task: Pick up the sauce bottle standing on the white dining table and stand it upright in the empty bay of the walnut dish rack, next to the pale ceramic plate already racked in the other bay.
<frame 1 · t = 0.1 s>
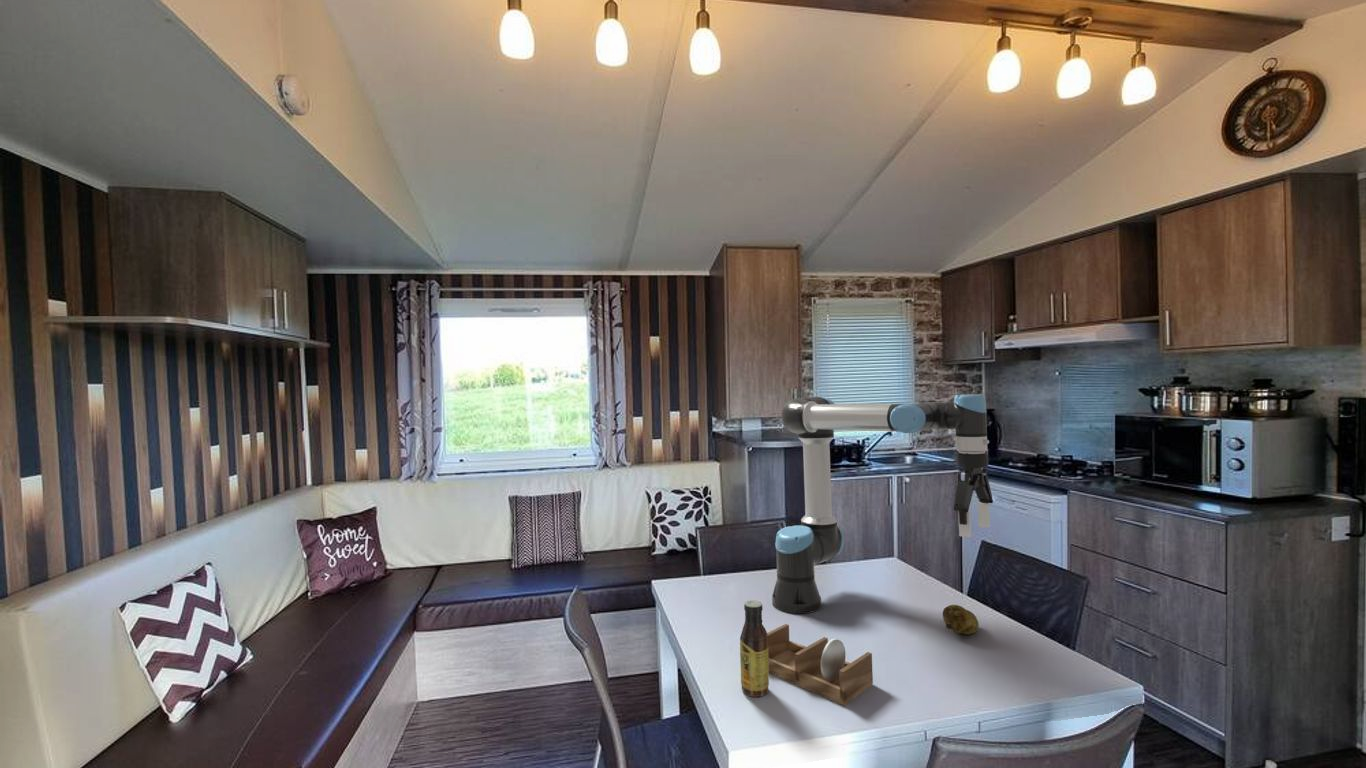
hand: (975, 531, 150), 28 cm above the table, fingers open, 13 cm apart
sauce bottle: (755, 692, 126), on the table
dish rack: (812, 675, 132), on the table
potato: (962, 633, 152), on the table
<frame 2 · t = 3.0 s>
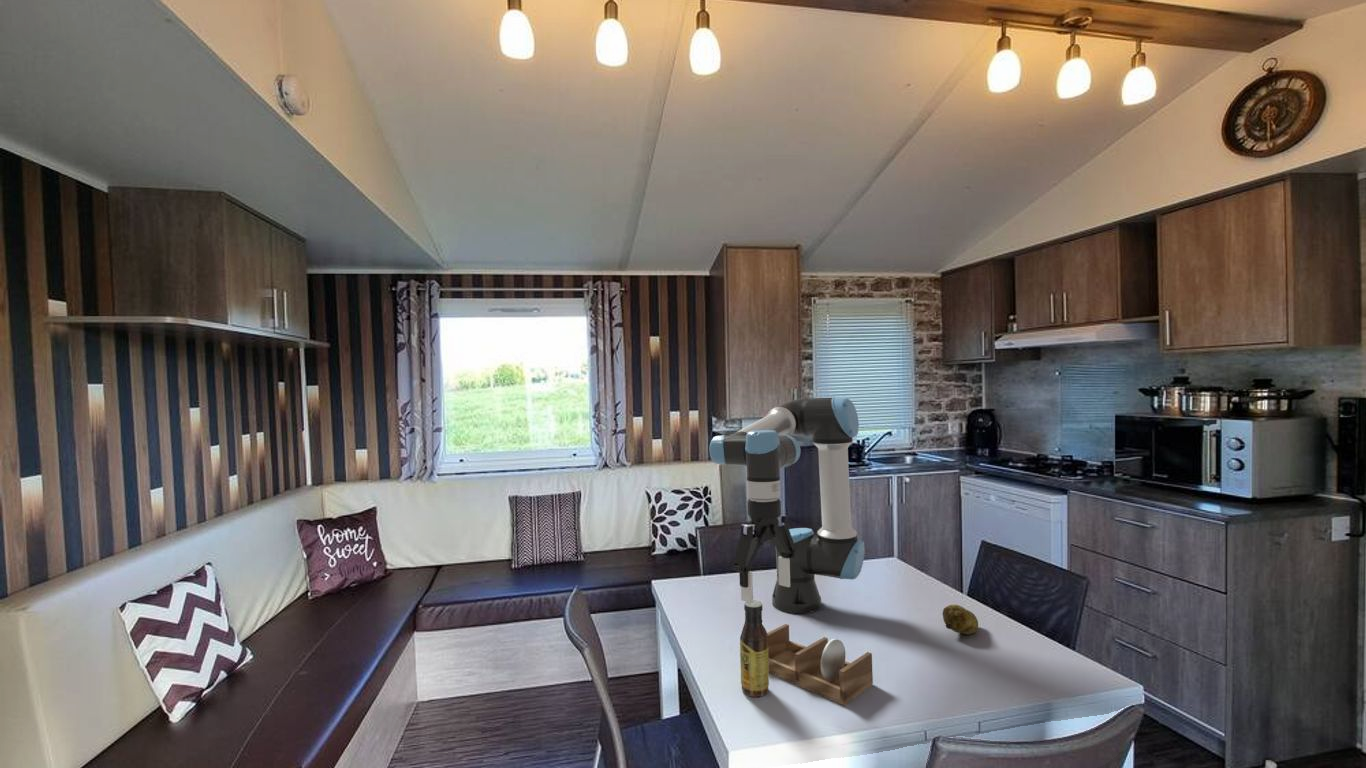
hand: (766, 593, 127), 22 cm above the table, fingers open, 13 cm apart
nothing on the table moved.
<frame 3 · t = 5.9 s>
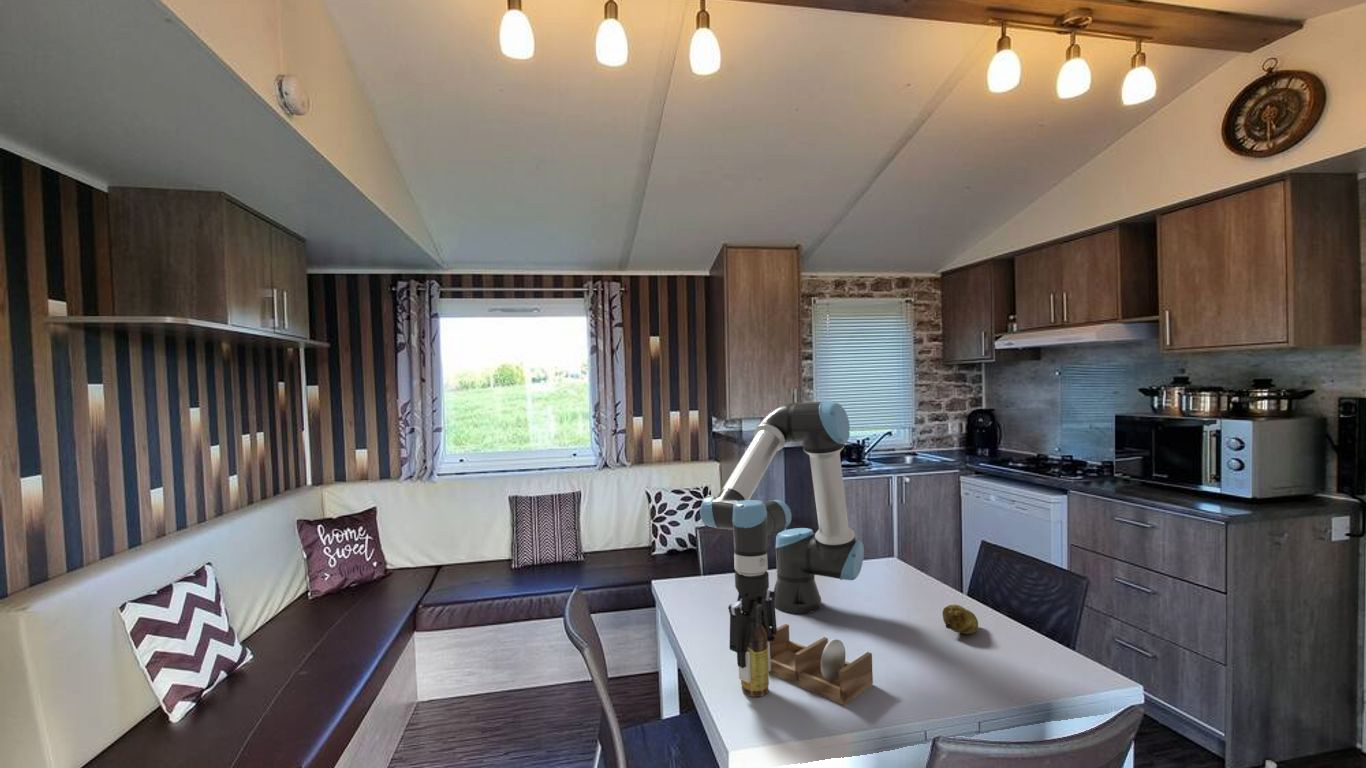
hand: (755, 674, 126), 4 cm above the table, fingers closed on sauce bottle, 6 cm apart
sauce bottle: (755, 692, 126), on the table, touching gripper
everything else where it was.
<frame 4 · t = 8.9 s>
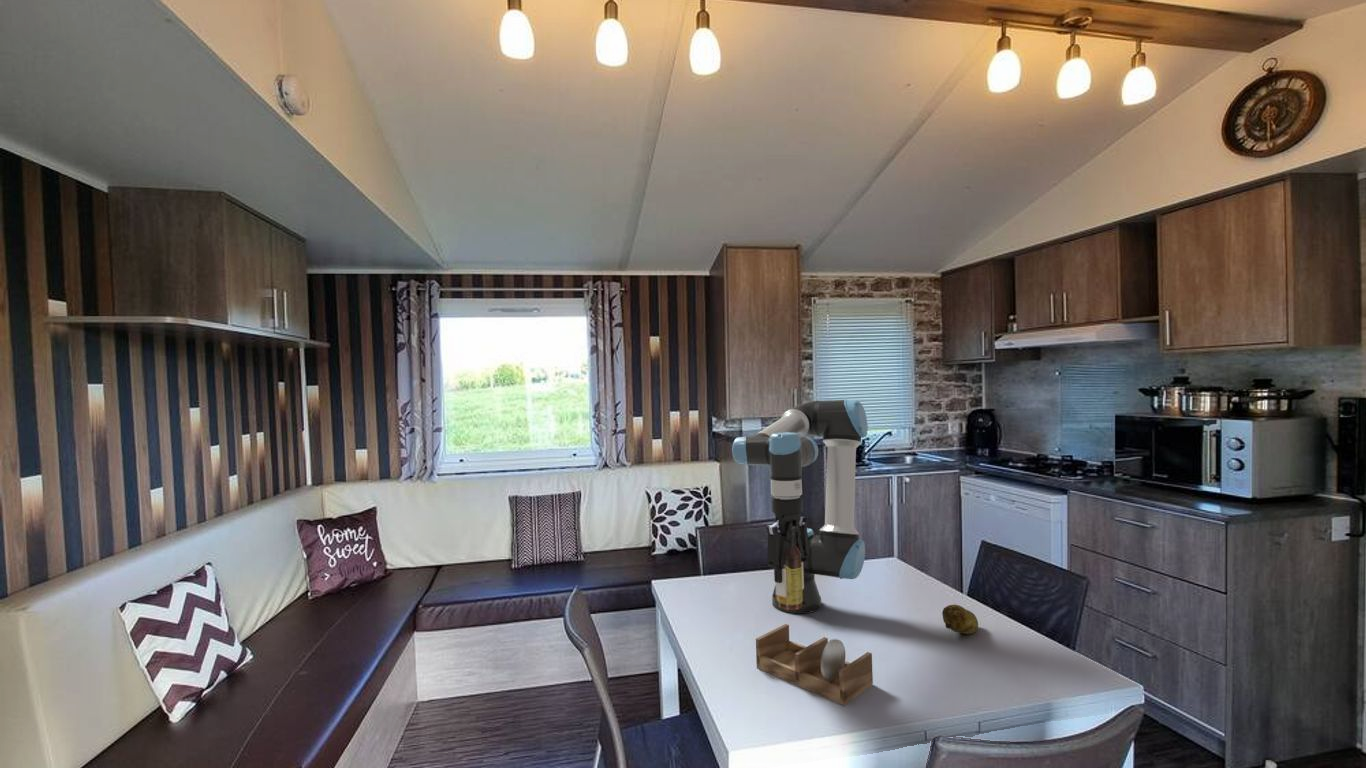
hand: (790, 591, 137), 18 cm above the table, fingers closed on sauce bottle, 6 cm apart
sauce bottle: (790, 607, 137), point 14 cm above the table, touching gripper
everything else where it was.
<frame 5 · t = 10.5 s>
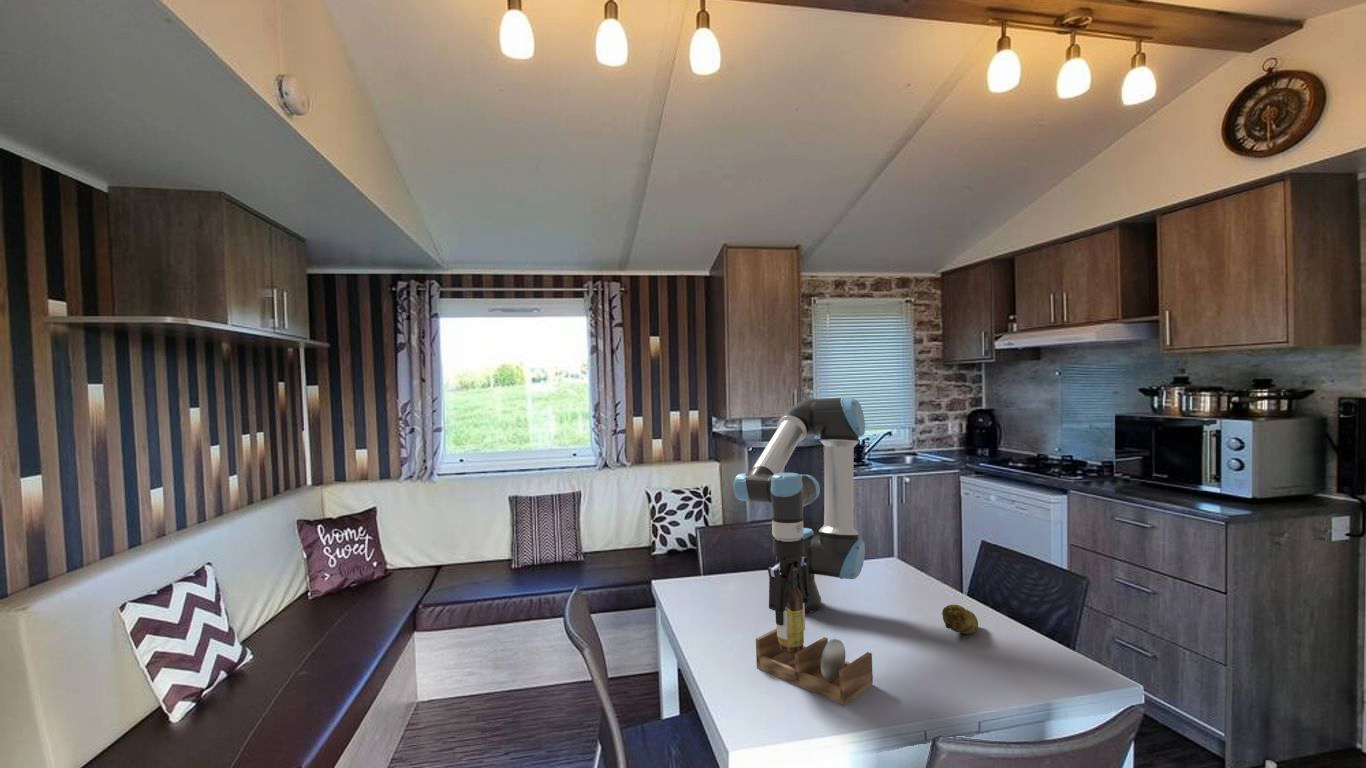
hand: (791, 632, 136), 8 cm above the table, fingers closed on sauce bottle, 6 cm apart
sauce bottle: (791, 649, 137), point 4 cm above the table, touching gripper
everything else where it was.
when the fingers open (6 cm above the table, at t = 11.7 s): sauce bottle drops 1 cm, resting on dish rack.
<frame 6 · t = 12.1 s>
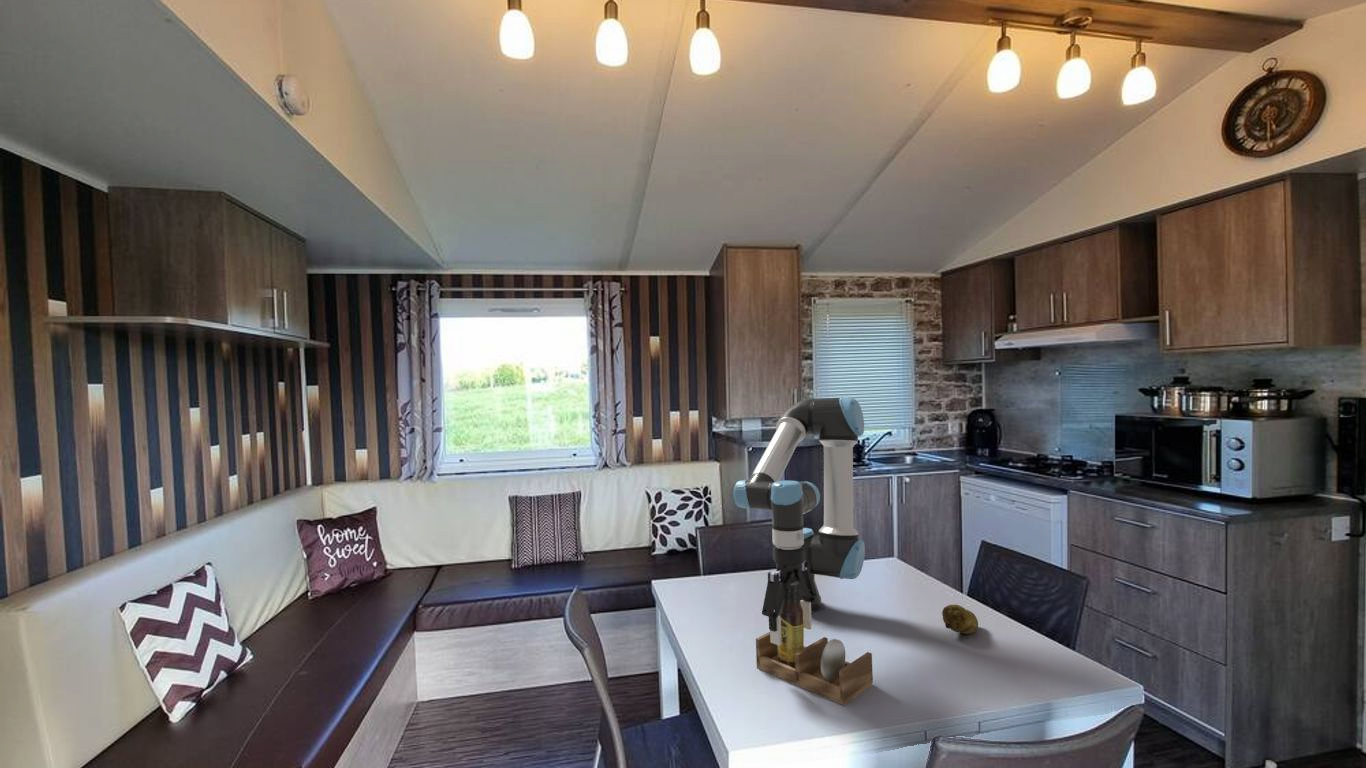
hand: (791, 635, 137), 8 cm above the table, fingers open, 11 cm apart
sauce bottle: (791, 664, 136), point 1 cm above the table, touching dish rack
everything else where it was.
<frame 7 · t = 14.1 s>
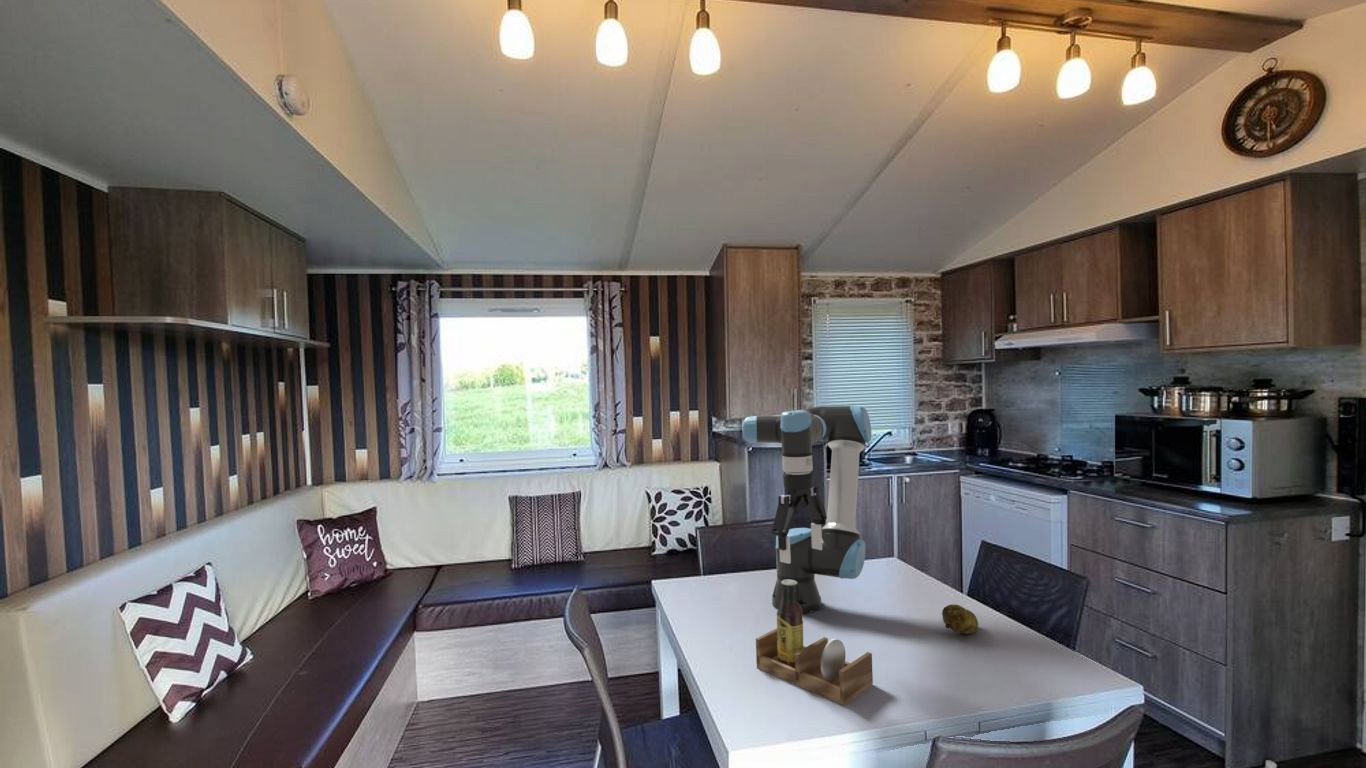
hand: (801, 555, 143), 25 cm above the table, fingers open, 13 cm apart
nothing on the table moved.
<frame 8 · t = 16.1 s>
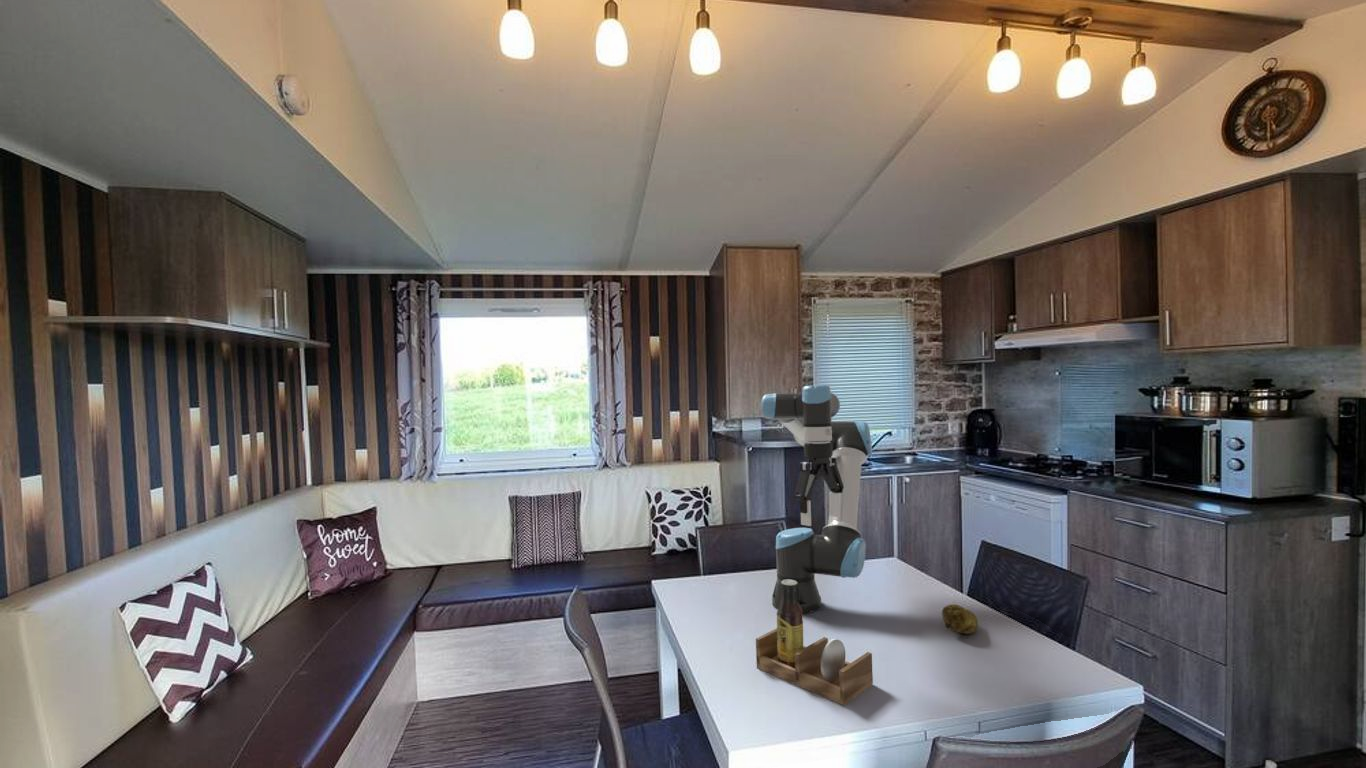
hand: (820, 520, 152), 32 cm above the table, fingers open, 13 cm apart
nothing on the table moved.
at the end: sauce bottle inside the target area on the dish rack (0.4 cm from its centre), point 0.8 cm above the dish rack's base; sauce bottle tilted 0°; the gripper is holding nothing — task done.
